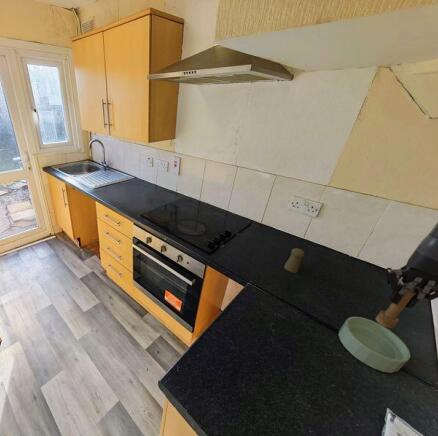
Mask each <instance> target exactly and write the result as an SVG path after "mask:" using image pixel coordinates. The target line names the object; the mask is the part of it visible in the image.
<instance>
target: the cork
mask: <svg viewBox="0 0 438 436" xmlns="http://www.w3.org/2000/svg"><path fill="white" fill-rule="evenodd" d="M305 255H306V253H305V251H304V250H303V249H301V248H299V247H295V248H294V247H293V248H292V249H291V255H290V256H289V258H288V259H287V261H286V262H285V264H284V265H283V268H284V269H285V270H286V271H288V272H289V273H292V274H293V273H294V274H295V273H298V272H299V269H300V265H301V262H302V258H304V257H305Z"/></svg>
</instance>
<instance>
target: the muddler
mask: <svg viewBox="0 0 438 436" xmlns="http://www.w3.org/2000/svg"><path fill="white" fill-rule="evenodd" d="M415 294H416V293H415V292H414V291H413V289H411V290H408V291H407V292H406V293H404V294H403V297H402V298H401V299H400V301H399V302H398V303H397V304H393V303H392V302H391V304H390V305H389V306H388V307H387V309H386V310H384V309H383V310H380V312H379V313H378V314H377V316H375V321H376V323H378V324H380V325H382V326H383V327H385V328H387V329H393V328H394V327H396V325H397V324H398V323H399V321H400V319H399V317H398V316H399V315H400V313H401V312H402V311H403V310H404V309H405V308H406V307H405V306H406V305H407V304H408V302H409V301H410V300H411V299H412V297H413V296H414V295H415Z"/></svg>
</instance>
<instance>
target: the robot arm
mask: <svg viewBox="0 0 438 436" xmlns="http://www.w3.org/2000/svg"><path fill="white" fill-rule="evenodd" d="M385 272H386V282H387V283H386V284H387V286H388V287H389V288H390V289H391V293H390V294H389V295H388V299H389V301H390V302H391V304H392V303H393V304H397V303H398V302H399V301H400V299H401V298H402V297H403V294H404V293H406V292H407V291H408V290H413V291H414V292H415V293H416V294H415V295H414V296H413V297H412V299H411V300H410V301H409V302H408V304H407V305H406V306H405V307H404V308H408V309H411V308H413V307H415V306H416V305H417V304H418V302H419V301H421V300H424V299H426V300H428V301H434V300H436V299H438V221H437V222H436V223H435V224H434V226H433V227H432V229H431V230H430V231H429V233H428V234H427V235H425V237H424V238H423V239H422V240H421V241H420V242H419V244H418V245H417V247H416V248H415V250H414V251H413V252H412V254H411V255H410V256H409V258H408V259H407V260H406V264H405V265H404V266H402V267H400V268H396V269H393V268H392V267H387V268H385ZM400 276H401V277H400Z"/></svg>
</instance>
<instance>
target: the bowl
mask: <svg viewBox="0 0 438 436" xmlns="http://www.w3.org/2000/svg"><path fill="white" fill-rule="evenodd" d="M338 339H339V340H340V342H341V344H342V345H343V347H344V348H345V350H347V351H348V352H349V353H350V354H351V355H352V356H353V357H354V358H356V360H359V361H360V362H361V363H363V364H365V365H366V366H368V367H370V368H372V369H375V370H377V371H379V372H380V371H381V372H383V373H389V374H392V373H396V372H398V371H400V369H401V368H402V367H403V366H404V365H405V364H406V363H407V362H409V360H410V358H411V352H410V349H409V348H408V346H407V344H406V343H405V342H404V341H403V340H402V339H401V338H400V337H399V336H398V335H396V334H395V333H394V332H393V331H391V330H390V329H389V328H387V327H384V326H382V325H381V324H379V323H378V322H377V321H376V322H375V321H374V320H371V319H370V318H369V319H368V318H365V317H361V316H349V317H348V318H346V320H345V321H344V323H343V324H342V326H341V327H340V328H339V330H338Z"/></svg>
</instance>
